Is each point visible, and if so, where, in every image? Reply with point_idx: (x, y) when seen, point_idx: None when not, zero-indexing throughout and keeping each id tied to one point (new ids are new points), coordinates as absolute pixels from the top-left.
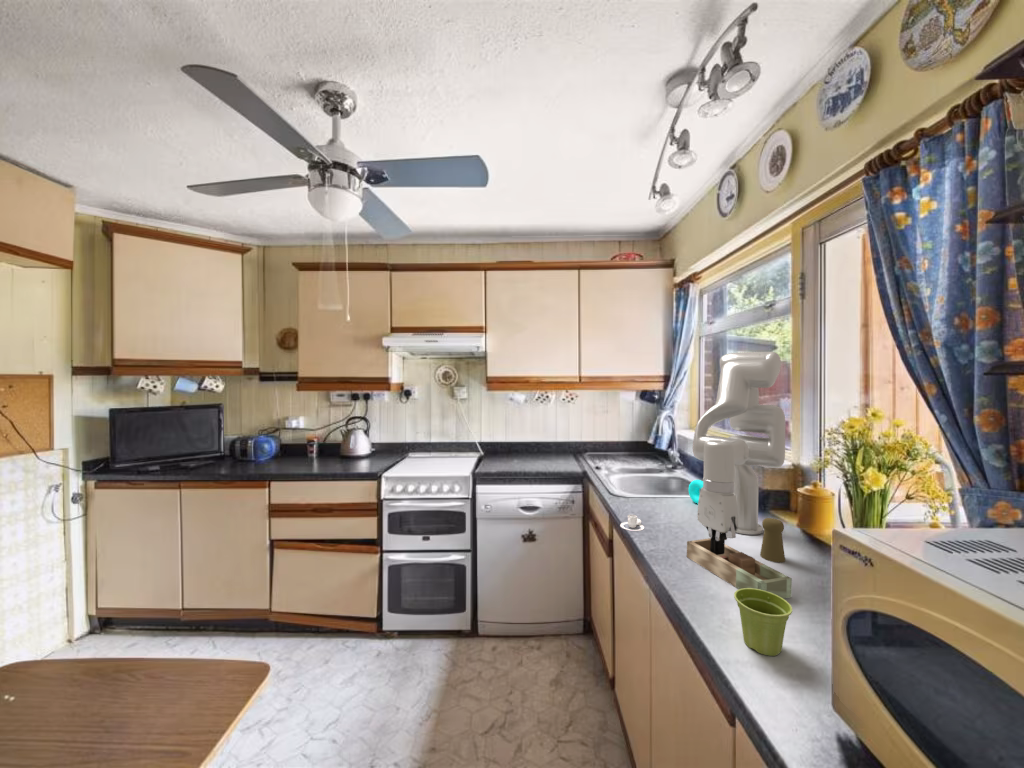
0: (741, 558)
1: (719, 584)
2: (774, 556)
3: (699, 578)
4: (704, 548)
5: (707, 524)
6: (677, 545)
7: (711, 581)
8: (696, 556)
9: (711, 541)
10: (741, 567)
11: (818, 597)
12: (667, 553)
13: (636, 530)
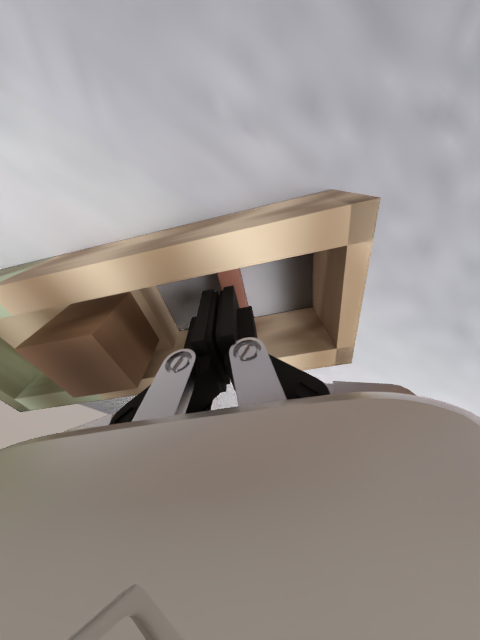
0: (49, 358)
1: (57, 198)
2: None
3: (88, 110)
4: (244, 262)
5: (208, 442)
6: (457, 213)
7: (75, 172)
8: (267, 210)
9: (225, 322)
10: (45, 324)
11: (88, 403)
12: (424, 61)
13: None
